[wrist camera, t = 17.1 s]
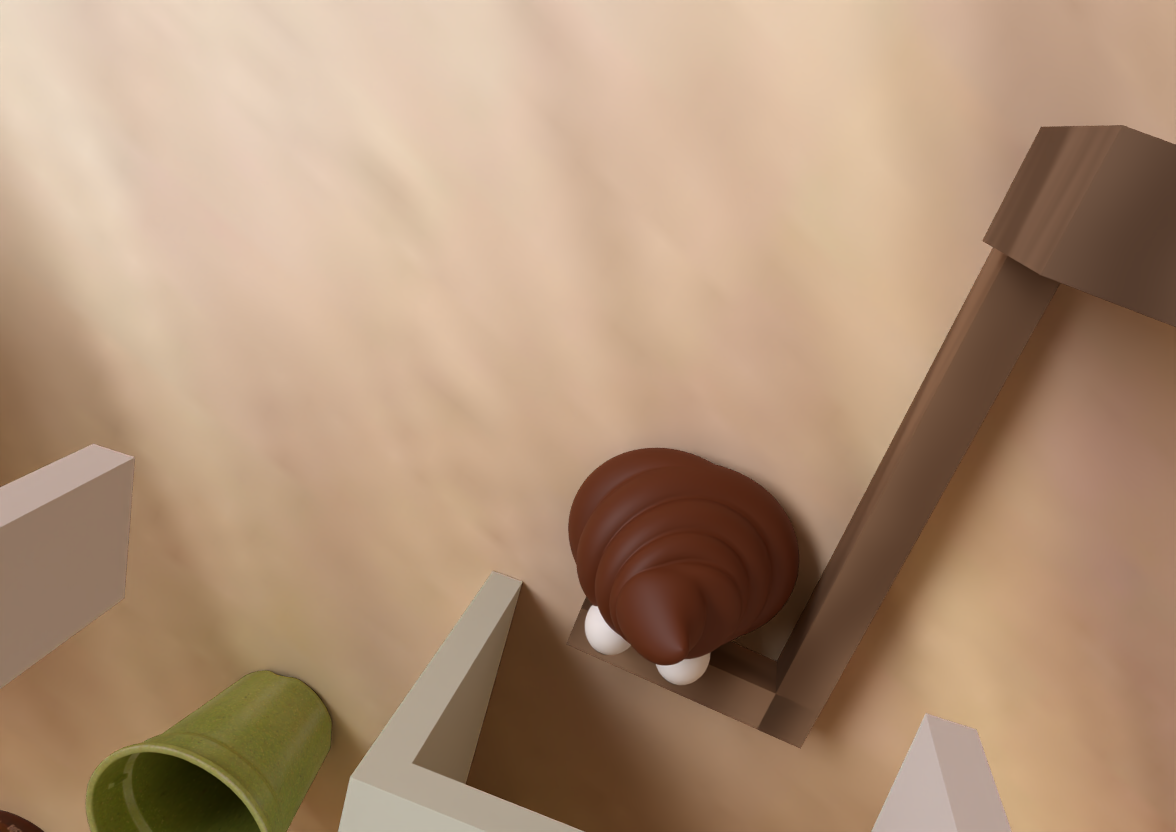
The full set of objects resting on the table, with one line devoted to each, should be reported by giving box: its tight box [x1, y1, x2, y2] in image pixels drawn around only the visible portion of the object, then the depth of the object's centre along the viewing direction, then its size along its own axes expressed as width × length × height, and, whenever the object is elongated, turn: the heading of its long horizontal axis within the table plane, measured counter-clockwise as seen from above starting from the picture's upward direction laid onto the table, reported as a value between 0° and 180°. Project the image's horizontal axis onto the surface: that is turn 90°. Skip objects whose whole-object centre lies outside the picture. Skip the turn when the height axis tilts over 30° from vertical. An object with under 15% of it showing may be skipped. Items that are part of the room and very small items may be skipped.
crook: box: [567, 125, 1176, 748], centre depth 32 cm, size 12×26×10 cm, turn 160°
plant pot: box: [85, 671, 332, 832], centre depth 44 cm, size 9×9×9 cm
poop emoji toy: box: [568, 448, 799, 685], centre depth 35 cm, size 10×8×9 cm
